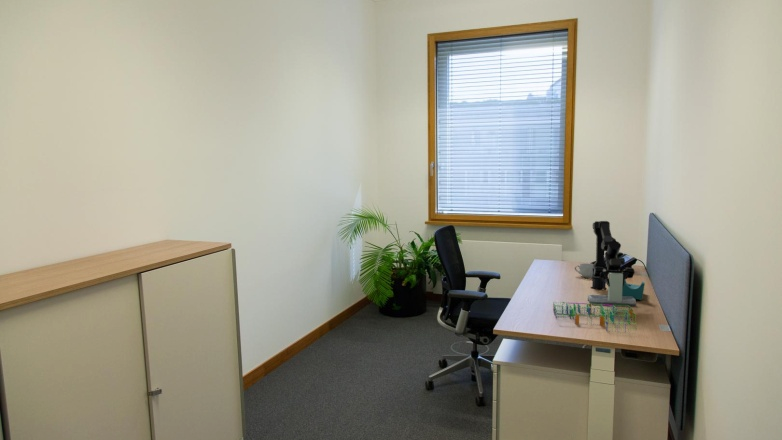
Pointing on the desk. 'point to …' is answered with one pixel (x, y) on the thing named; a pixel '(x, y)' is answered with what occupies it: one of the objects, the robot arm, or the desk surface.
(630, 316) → the house model
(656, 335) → the desk surface
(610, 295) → the door panel
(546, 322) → the desk surface
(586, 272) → the teacup
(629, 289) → the teal curved piece
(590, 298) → the door track
